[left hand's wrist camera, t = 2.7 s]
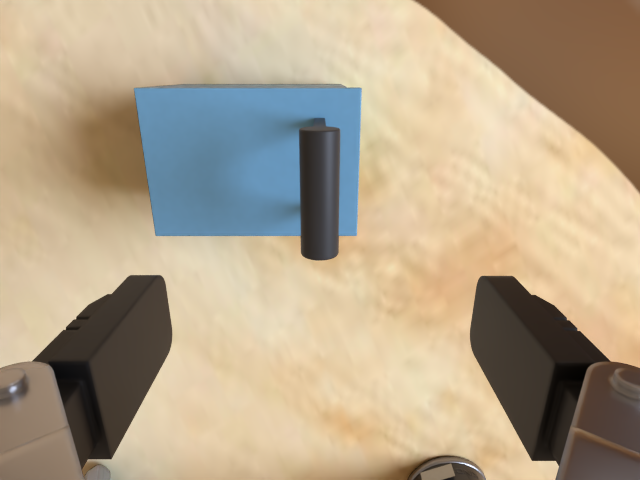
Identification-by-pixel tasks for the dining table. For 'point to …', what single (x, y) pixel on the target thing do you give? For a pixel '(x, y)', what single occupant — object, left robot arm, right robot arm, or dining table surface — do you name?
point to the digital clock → (98, 473)
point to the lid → (253, 162)
